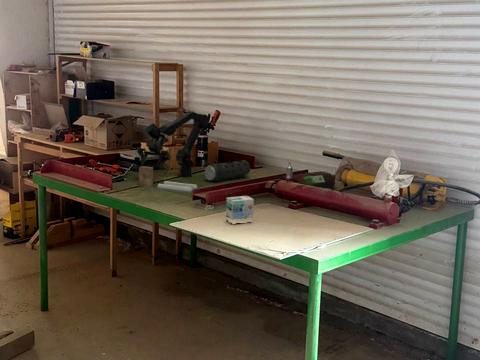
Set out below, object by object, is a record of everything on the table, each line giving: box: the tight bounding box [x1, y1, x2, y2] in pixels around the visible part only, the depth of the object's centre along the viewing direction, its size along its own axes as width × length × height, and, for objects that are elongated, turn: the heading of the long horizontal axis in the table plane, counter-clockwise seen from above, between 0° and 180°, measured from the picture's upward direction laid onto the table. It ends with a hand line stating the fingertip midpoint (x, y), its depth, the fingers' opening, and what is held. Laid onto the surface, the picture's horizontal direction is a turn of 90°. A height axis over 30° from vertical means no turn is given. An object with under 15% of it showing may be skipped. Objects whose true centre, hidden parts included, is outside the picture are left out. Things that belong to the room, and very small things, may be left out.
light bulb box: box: [225, 195, 255, 220], centre depth 256 cm, size 11×7×11 cm, turn 117°
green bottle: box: [279, 171, 336, 190], centre depth 316 cm, size 39×10×10 cm, turn 123°
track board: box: [156, 180, 199, 194], centre depth 312 cm, size 11×19×2 cm, turn 70°
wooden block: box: [138, 165, 154, 188], centre depth 317 cm, size 4×6×10 cm, turn 70°
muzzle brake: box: [204, 159, 251, 182], centre depth 339 cm, size 10×28×10 cm, turn 133°
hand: (148, 166), depth 319 cm, fingers open, 9 cm apart
